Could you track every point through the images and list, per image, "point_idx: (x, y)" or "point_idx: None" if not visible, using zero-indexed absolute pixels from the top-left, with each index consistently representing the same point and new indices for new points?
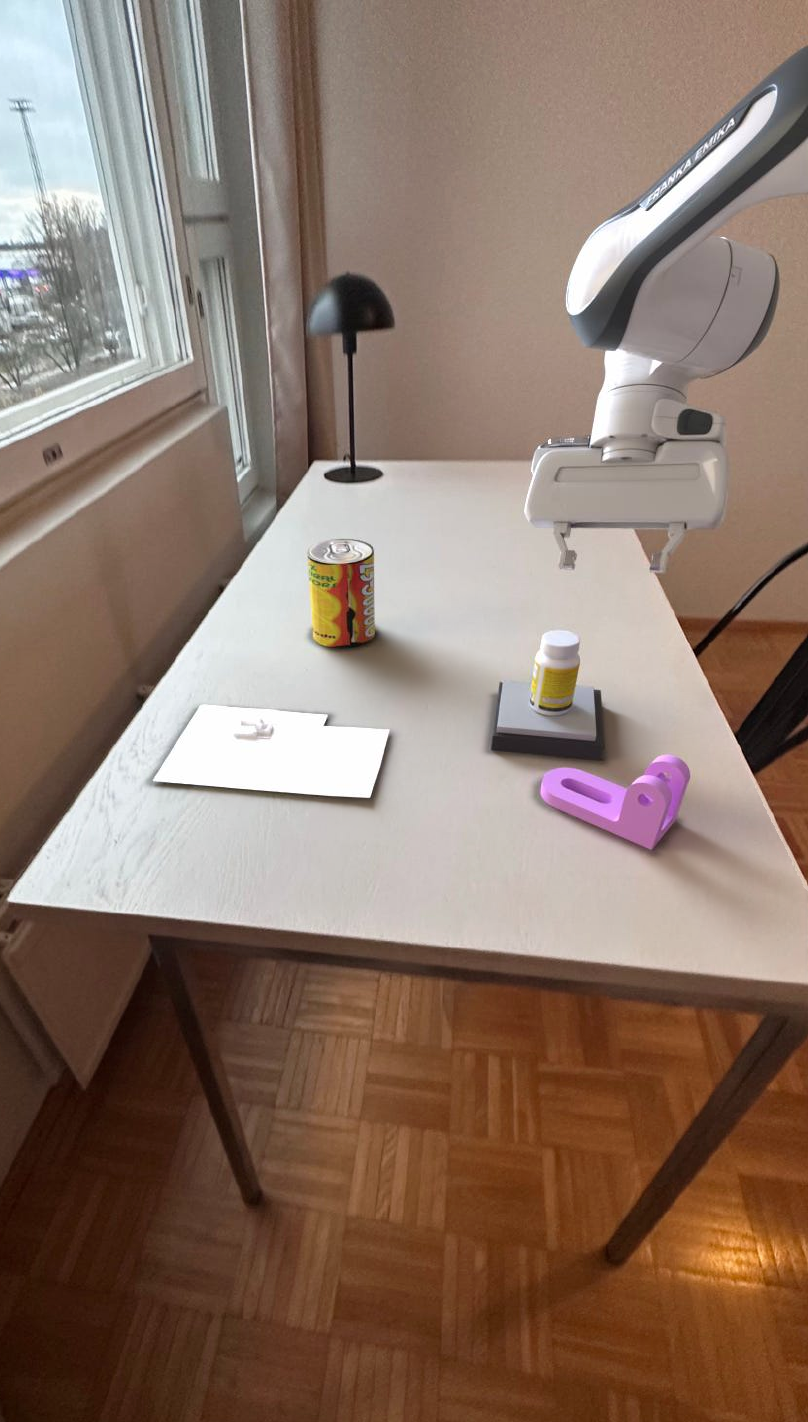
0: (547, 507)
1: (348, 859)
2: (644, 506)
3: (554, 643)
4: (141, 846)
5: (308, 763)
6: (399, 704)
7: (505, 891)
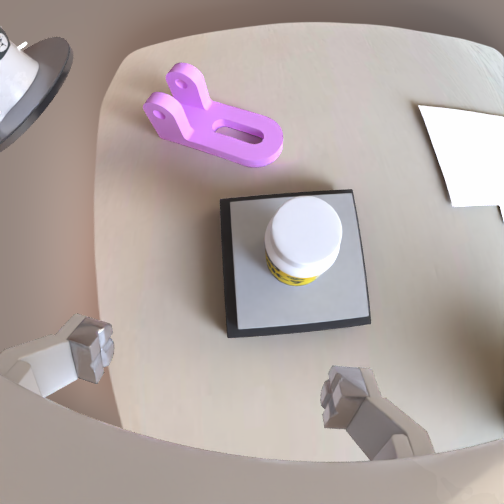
0: (490, 472)
1: (396, 60)
2: (62, 451)
3: (316, 204)
4: (492, 73)
5: (479, 145)
6: (462, 268)
7: (288, 48)
